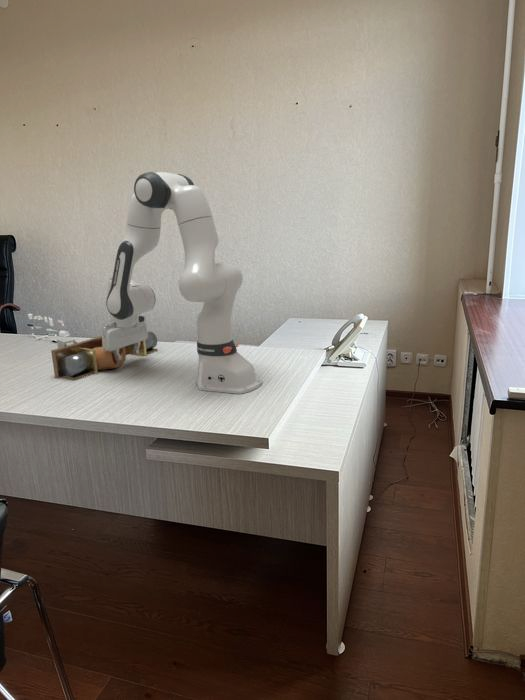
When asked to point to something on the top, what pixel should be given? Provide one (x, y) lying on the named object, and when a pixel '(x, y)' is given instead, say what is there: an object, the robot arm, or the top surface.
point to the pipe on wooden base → (90, 356)
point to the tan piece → (108, 358)
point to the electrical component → (65, 342)
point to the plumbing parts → (61, 333)
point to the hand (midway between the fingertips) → (127, 357)
